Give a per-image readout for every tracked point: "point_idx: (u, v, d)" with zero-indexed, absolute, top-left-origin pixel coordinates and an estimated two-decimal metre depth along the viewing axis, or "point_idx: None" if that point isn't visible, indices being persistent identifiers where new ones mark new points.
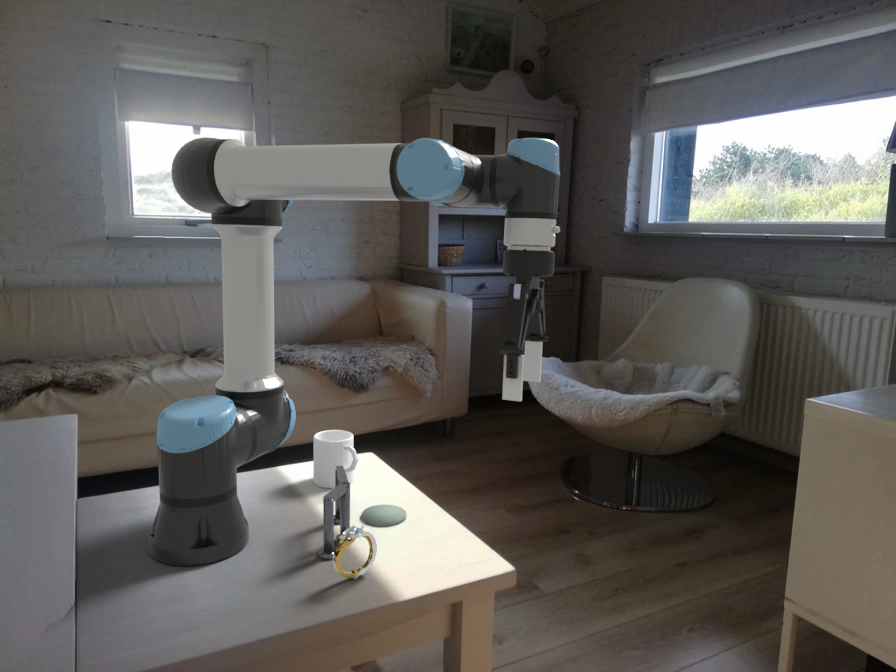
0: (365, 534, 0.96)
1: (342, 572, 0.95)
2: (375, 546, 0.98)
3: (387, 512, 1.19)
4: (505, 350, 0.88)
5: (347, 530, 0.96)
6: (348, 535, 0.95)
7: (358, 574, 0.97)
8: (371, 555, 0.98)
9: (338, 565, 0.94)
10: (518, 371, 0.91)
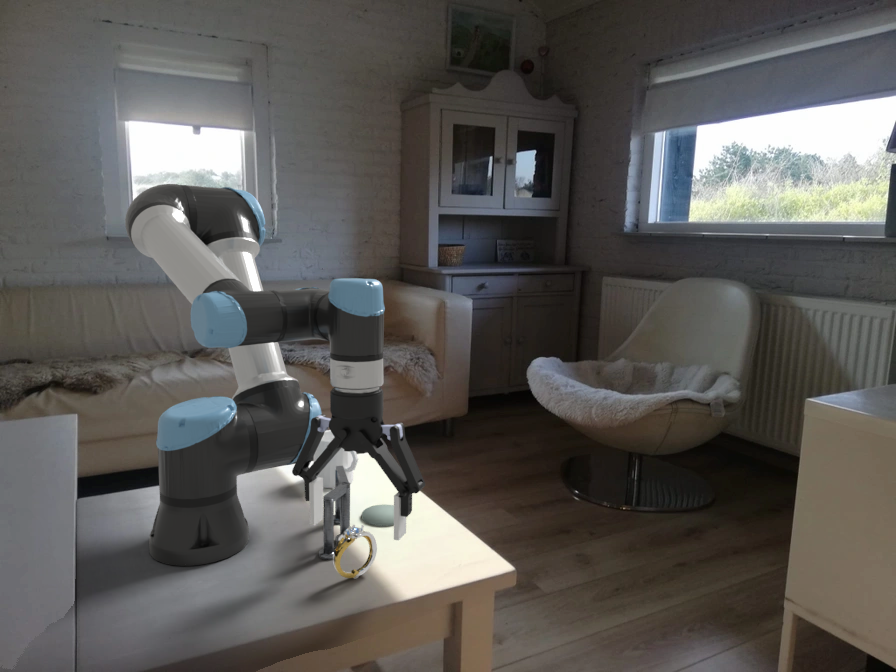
0: (365, 534, 0.96)
1: (342, 572, 0.95)
2: (375, 546, 0.98)
3: (387, 512, 1.19)
4: None
5: (347, 530, 0.96)
6: (348, 535, 0.95)
7: (358, 574, 0.97)
8: (371, 555, 0.98)
9: (338, 565, 0.94)
10: None
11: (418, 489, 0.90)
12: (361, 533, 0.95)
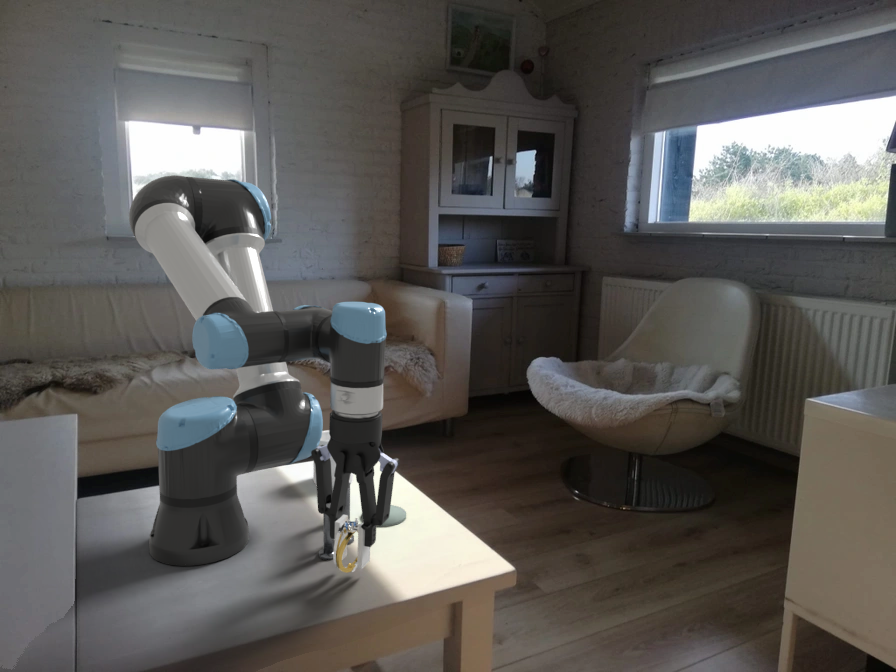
0: None
1: (343, 567, 0.95)
2: None
3: None
4: None
5: (342, 525, 0.96)
6: (346, 530, 0.95)
7: (355, 567, 0.97)
8: None
9: (340, 561, 0.94)
10: None
11: (381, 524, 0.93)
12: (359, 525, 0.95)
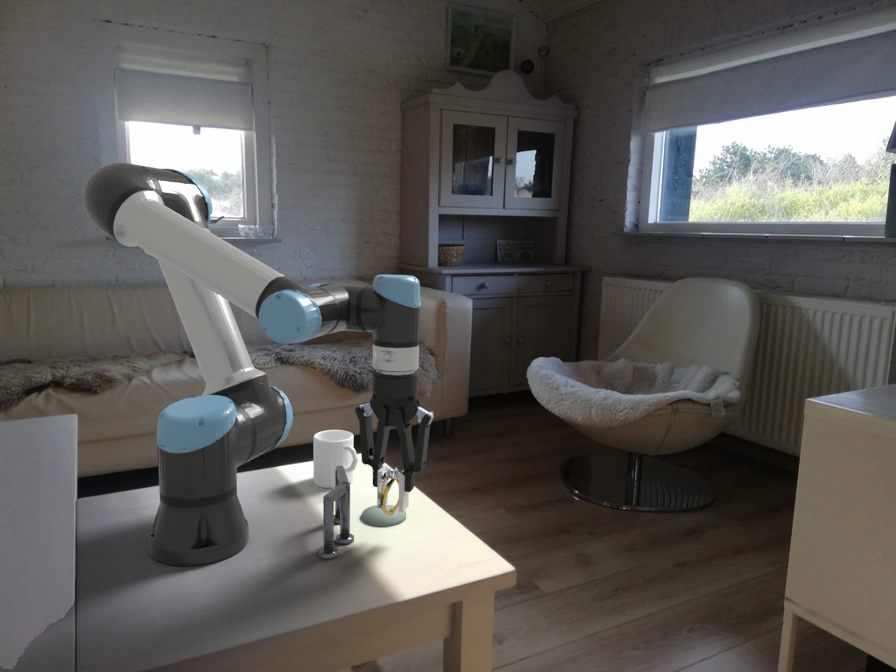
0: None
1: (386, 510, 1.06)
2: None
3: None
4: None
5: (384, 473, 1.08)
6: (388, 477, 1.07)
7: (395, 511, 1.09)
8: None
9: (384, 504, 1.06)
10: (378, 482, 1.09)
11: (420, 470, 1.06)
12: (399, 473, 1.08)
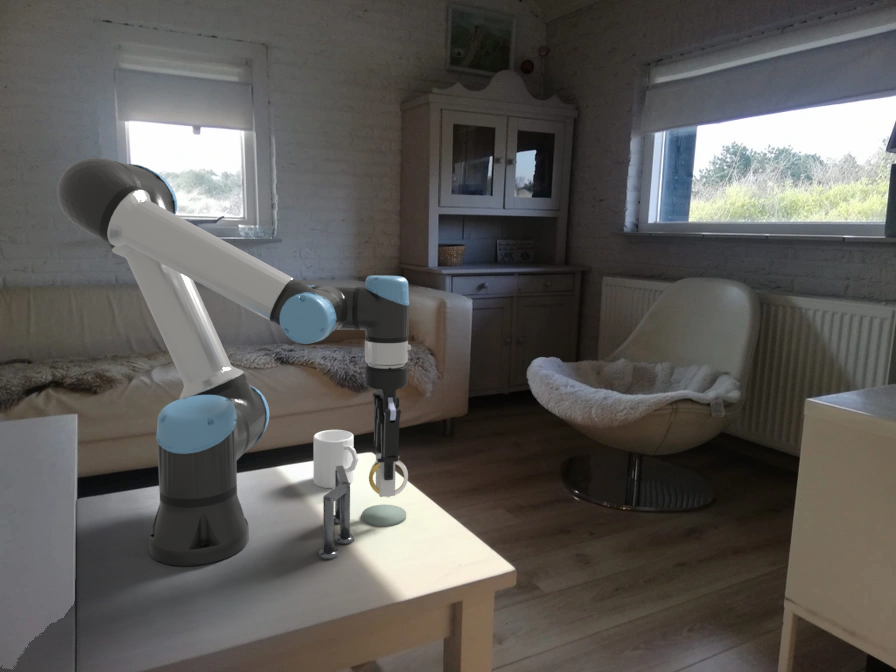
0: None
1: None
2: None
3: (387, 512, 1.19)
4: (388, 460, 1.11)
5: None
6: None
7: None
8: (372, 482, 1.18)
9: None
10: (392, 473, 1.15)
11: None
12: None
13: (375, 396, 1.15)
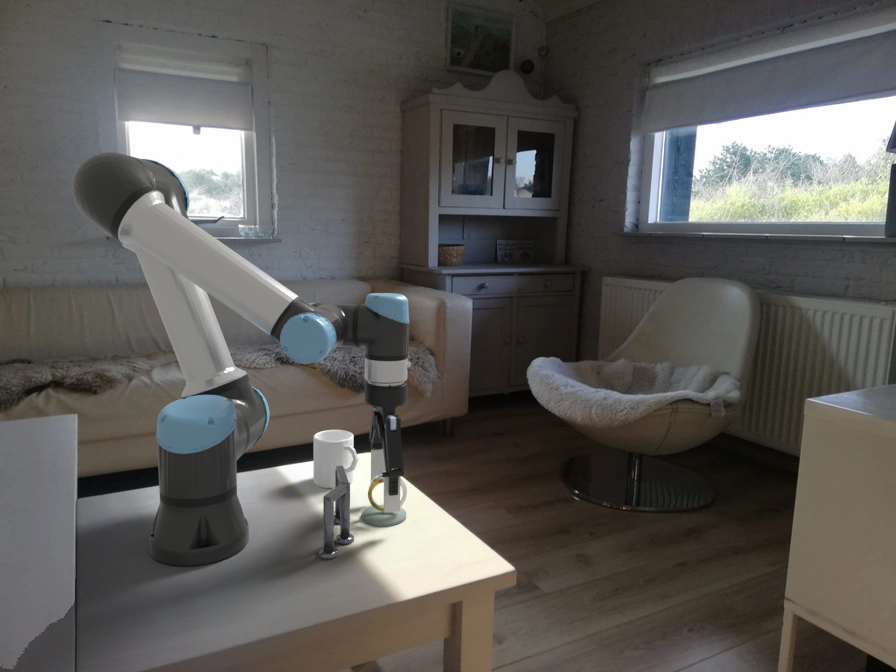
0: None
1: (400, 503, 1.19)
2: None
3: None
4: (393, 475, 1.07)
5: None
6: None
7: None
8: (371, 498, 1.18)
9: None
10: None
11: None
12: None
13: (375, 414, 1.16)
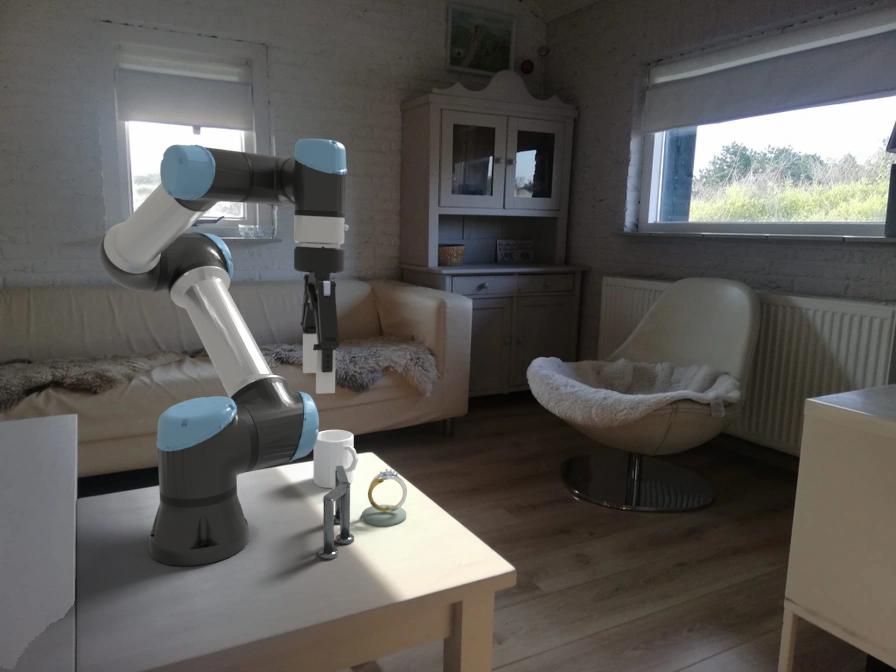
0: None
1: None
2: None
3: None
4: (326, 346, 0.91)
5: (392, 476, 1.17)
6: None
7: None
8: (371, 498, 1.18)
9: None
10: None
11: None
12: (386, 471, 1.19)
13: (306, 285, 1.00)
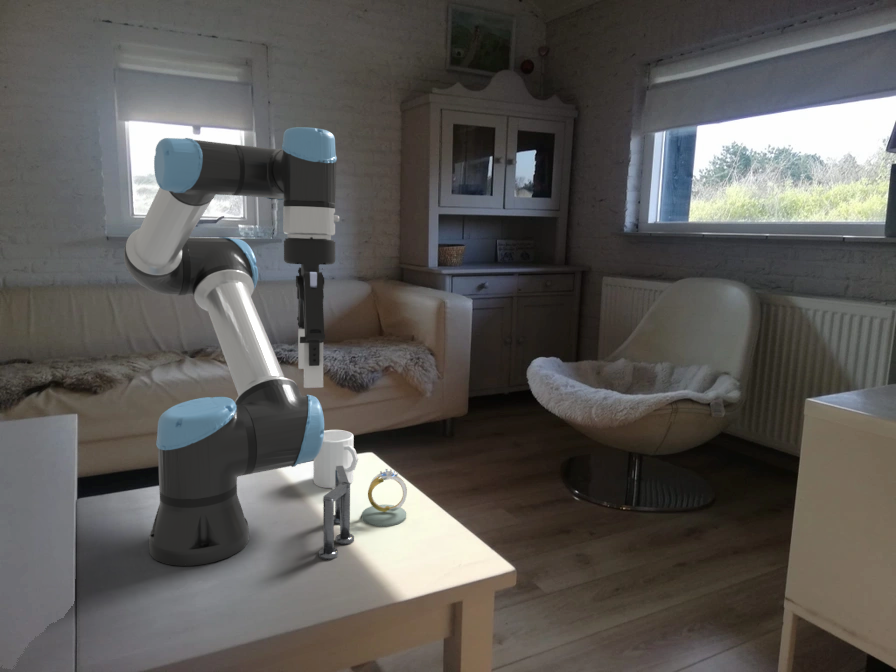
0: None
1: None
2: None
3: None
4: (311, 338, 0.89)
5: (392, 476, 1.17)
6: None
7: None
8: (371, 498, 1.18)
9: None
10: (319, 358, 0.92)
11: None
12: (386, 471, 1.19)
13: None
